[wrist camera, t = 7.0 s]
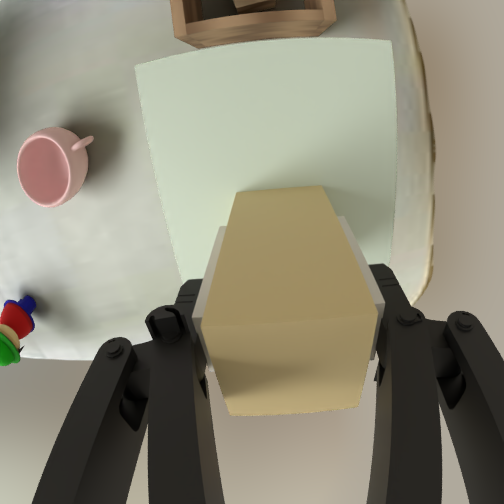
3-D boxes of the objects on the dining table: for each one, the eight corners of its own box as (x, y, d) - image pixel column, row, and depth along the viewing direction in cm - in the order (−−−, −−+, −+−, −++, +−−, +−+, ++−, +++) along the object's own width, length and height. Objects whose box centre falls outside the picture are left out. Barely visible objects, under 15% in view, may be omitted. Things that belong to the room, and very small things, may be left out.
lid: (209, 332, 25) (181, 475, 14) (150, 67, 15) (-13, 69, 4) (369, 320, 24) (409, 460, 13) (375, 45, 14) (529, 16, 3)
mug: (61, 204, 38) (38, 222, 33) (30, 146, 34) (4, 158, 29) (121, 166, 36) (100, 180, 31) (88, 99, 31) (61, 105, 26)
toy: (31, 285, 46) (-12, 340, 33) (55, 321, 51) (19, 378, 38) (7, 291, 48) (-33, 340, 35) (29, 324, 52) (-5, 375, 39)
